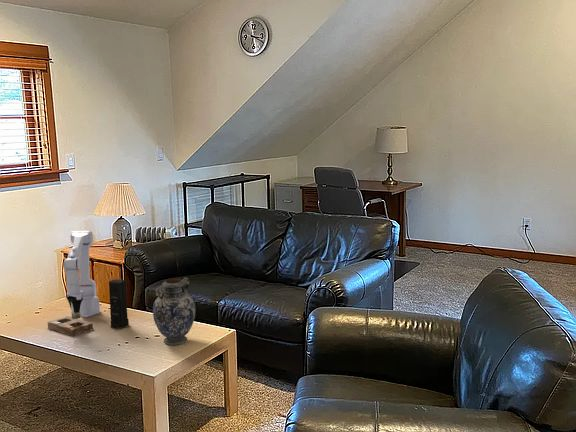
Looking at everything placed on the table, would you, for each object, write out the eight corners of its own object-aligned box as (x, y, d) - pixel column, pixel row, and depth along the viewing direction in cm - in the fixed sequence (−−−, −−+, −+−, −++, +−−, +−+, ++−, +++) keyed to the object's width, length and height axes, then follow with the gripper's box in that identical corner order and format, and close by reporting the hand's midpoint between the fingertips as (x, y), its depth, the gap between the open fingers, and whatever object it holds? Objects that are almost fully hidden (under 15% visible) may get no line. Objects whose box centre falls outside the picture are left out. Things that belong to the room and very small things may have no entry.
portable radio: (108, 327, 274) (104, 276, 270) (116, 323, 279) (113, 273, 276) (121, 329, 271) (118, 278, 267) (129, 325, 276) (126, 275, 273)
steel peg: (78, 315, 272) (77, 299, 271) (82, 317, 269) (81, 301, 268) (70, 317, 269) (69, 301, 268) (73, 319, 266) (72, 302, 265)
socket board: (68, 321, 283) (67, 315, 282) (93, 329, 271) (92, 322, 271) (47, 328, 274) (47, 321, 274) (72, 336, 263) (72, 329, 262)
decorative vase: (174, 330, 268) (172, 272, 263) (206, 336, 259) (204, 277, 255) (142, 345, 249) (140, 283, 245) (176, 353, 241) (174, 289, 236)
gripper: (87, 284, 263) (89, 313, 265) (77, 278, 275) (78, 306, 277) (71, 287, 259) (73, 316, 261) (61, 281, 270) (63, 309, 272)
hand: (75, 311), depth 268 cm, fingers closed on steel peg, 4 cm apart
